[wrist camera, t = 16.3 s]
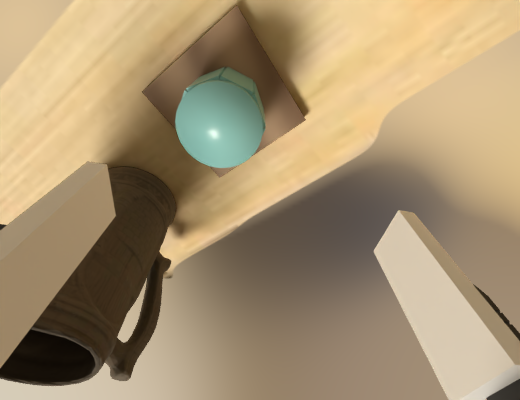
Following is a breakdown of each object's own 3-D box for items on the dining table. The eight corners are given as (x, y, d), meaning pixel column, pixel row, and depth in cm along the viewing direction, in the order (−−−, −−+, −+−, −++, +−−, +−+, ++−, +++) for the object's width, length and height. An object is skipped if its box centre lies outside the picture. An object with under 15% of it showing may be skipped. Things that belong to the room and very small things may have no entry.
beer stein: (68, 189, 33) (-99, 363, 17) (124, 144, 29) (-14, 305, 13) (159, 253, 41) (106, 412, 25) (212, 223, 38) (189, 383, 22)
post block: (237, 6, 23) (231, -3, 17) (304, 117, 28) (317, 139, 22) (145, 89, 26) (114, 106, 20) (220, 173, 32) (213, 205, 26)
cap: (183, 123, 27) (164, 148, 21) (205, 55, 24) (190, 62, 18) (244, 150, 29) (242, 180, 23) (273, 90, 26) (278, 107, 20)
